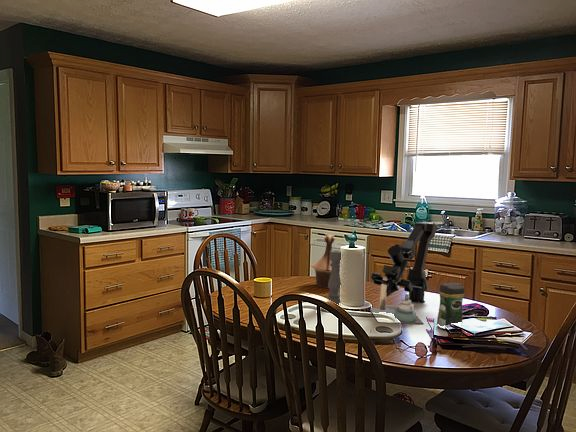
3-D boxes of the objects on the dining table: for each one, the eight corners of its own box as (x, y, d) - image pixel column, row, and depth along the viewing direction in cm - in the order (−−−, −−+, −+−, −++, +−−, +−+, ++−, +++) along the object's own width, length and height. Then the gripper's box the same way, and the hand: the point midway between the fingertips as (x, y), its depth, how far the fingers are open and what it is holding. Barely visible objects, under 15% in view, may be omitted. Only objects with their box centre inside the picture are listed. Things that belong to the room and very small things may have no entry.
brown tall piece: (343, 290, 254) (346, 237, 251) (310, 289, 254) (313, 235, 251) (340, 282, 271) (343, 232, 268) (309, 281, 271) (312, 231, 269)
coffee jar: (452, 324, 206) (456, 280, 204) (465, 330, 199) (468, 285, 197) (433, 325, 203) (436, 281, 201) (444, 332, 196) (448, 286, 194)
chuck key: (414, 312, 210) (416, 287, 209) (411, 316, 204) (412, 290, 203) (381, 307, 216) (383, 282, 215) (377, 310, 211) (378, 285, 210)
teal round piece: (412, 317, 213) (413, 309, 213) (418, 324, 204) (419, 315, 204) (391, 316, 213) (392, 308, 213) (396, 323, 204) (397, 314, 204)
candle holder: (331, 307, 224) (334, 252, 221) (324, 303, 229) (327, 250, 226) (343, 305, 227) (345, 252, 224) (335, 302, 232) (338, 249, 229)
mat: (410, 310, 223) (411, 309, 223) (423, 324, 204) (423, 322, 204) (369, 309, 223) (369, 307, 223) (377, 322, 204) (377, 321, 204)
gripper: (374, 254, 222) (359, 282, 215) (412, 262, 210) (397, 291, 203) (381, 269, 229) (367, 297, 222) (418, 277, 217) (405, 306, 210)
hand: (383, 297), depth 214 cm, fingers closed, pressing on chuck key
